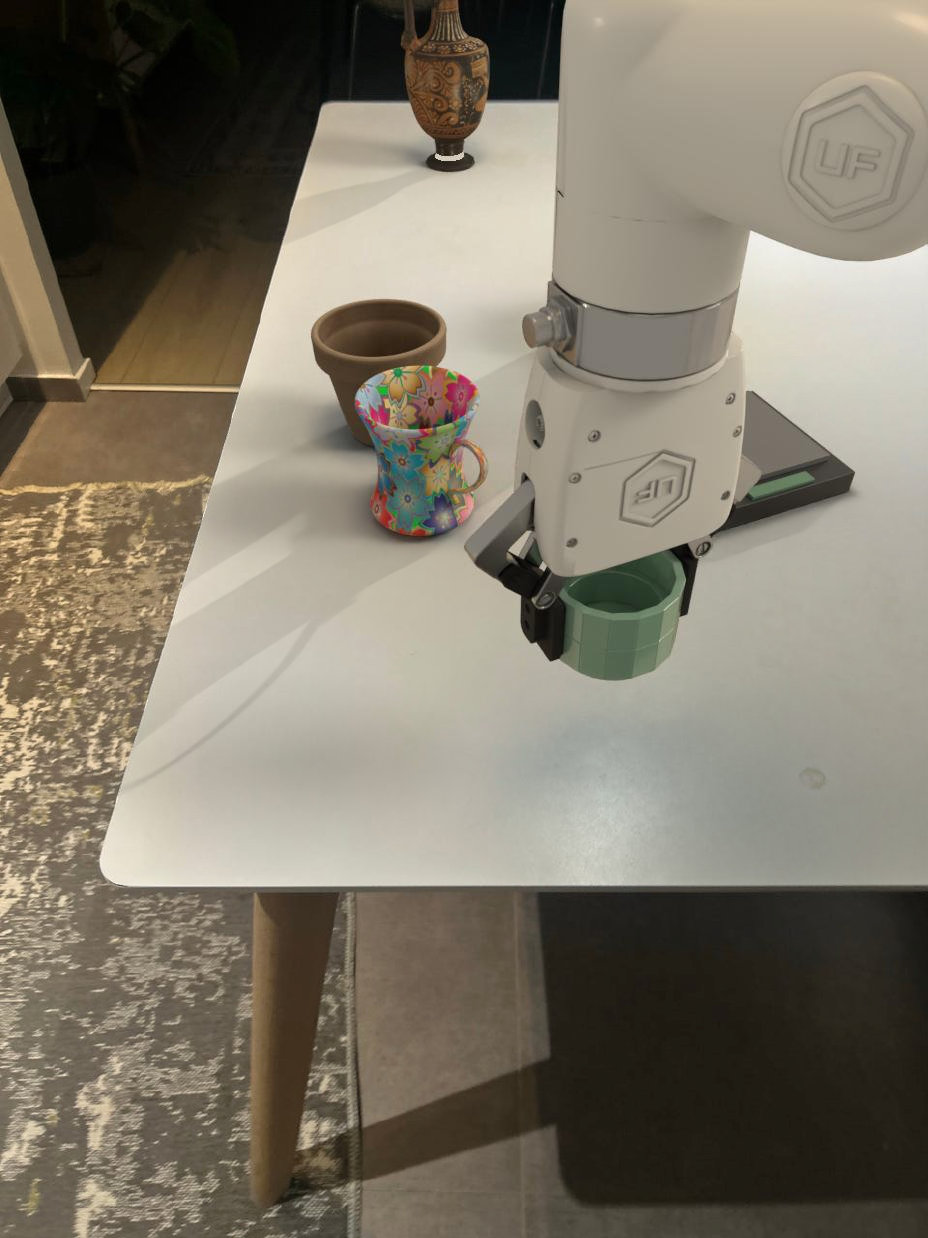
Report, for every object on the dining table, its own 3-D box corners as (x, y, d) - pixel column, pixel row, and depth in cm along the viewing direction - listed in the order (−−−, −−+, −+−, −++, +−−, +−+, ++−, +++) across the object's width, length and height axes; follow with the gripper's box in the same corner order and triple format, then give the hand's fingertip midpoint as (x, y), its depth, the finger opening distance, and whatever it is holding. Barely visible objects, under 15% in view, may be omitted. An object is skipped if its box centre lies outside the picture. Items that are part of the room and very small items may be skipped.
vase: (498, 172, 131) (501, -93, 110) (412, 180, 129) (399, -88, 108) (478, 145, 139) (478, -106, 118) (397, 152, 137) (382, -102, 116)
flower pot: (359, 385, 90) (349, 286, 83) (467, 408, 87) (466, 307, 80) (300, 448, 82) (284, 344, 75) (416, 476, 79) (410, 370, 72)
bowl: (697, 663, 50) (711, 594, 46) (582, 703, 48) (588, 635, 44) (631, 584, 54) (640, 517, 51) (524, 619, 53) (525, 551, 49)
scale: (849, 491, 77) (858, 465, 75) (707, 535, 73) (713, 509, 71) (748, 409, 86) (754, 384, 84) (618, 444, 82) (621, 419, 80)
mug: (343, 509, 76) (328, 395, 68) (427, 463, 80) (422, 352, 73) (441, 580, 70) (437, 463, 62) (526, 526, 74) (532, 411, 67)
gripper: (488, 408, 33) (491, 721, 46) (869, 310, 38) (778, 618, 51) (413, 322, 38) (434, 625, 51) (758, 245, 43) (700, 540, 56)
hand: (606, 620), depth 51 cm, fingers closed on bowl, 7 cm apart
